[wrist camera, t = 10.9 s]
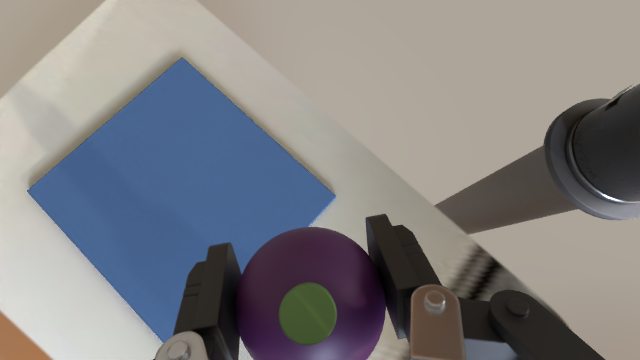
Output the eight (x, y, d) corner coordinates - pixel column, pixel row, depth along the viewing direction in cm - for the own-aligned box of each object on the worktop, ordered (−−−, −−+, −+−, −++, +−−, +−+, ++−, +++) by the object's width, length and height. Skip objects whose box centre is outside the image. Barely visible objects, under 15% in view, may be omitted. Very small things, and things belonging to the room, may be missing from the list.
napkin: (336, 197, 31) (336, 196, 31) (182, 361, 28) (180, 362, 28) (183, 59, 35) (182, 57, 34) (29, 191, 31) (26, 190, 31)
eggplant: (353, 230, 18) (386, 195, 9) (375, 337, 16) (436, 409, 8) (253, 249, 17) (192, 229, 9) (268, 359, 16) (214, 456, 8)
